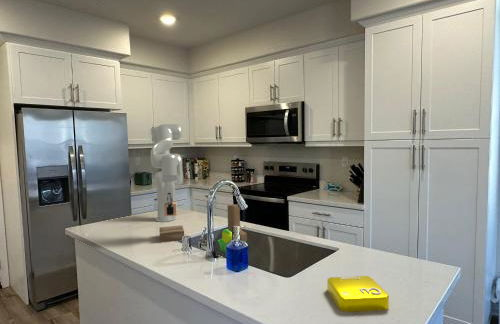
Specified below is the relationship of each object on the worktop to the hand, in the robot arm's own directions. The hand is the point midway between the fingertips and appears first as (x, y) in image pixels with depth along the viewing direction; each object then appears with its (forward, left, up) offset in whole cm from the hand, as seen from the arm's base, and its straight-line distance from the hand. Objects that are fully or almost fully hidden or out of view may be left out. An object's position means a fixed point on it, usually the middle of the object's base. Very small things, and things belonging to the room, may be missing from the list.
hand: (170, 212), depth 165 cm
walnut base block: (0, 0, -14) cm, 14 cm away
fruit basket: (+28, +28, -14) cm, 42 cm away
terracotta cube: (0, 0, -1) cm, 1 cm away
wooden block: (+13, +33, -14) cm, 38 cm away
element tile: (+78, +62, -14) cm, 101 cm away
